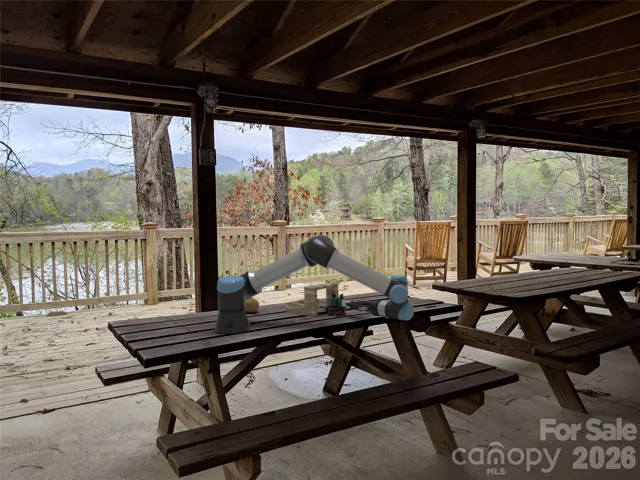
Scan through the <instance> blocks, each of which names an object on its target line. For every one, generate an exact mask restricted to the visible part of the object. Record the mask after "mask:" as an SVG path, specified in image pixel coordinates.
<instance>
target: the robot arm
mask: <svg viewBox="0 0 640 480" xmlns="http://www.w3.org/2000/svg"><path fill="white" fill-rule="evenodd" d="M317 265H319V266H321V267H323V268H324V269H332V270H334V271H337V273H339V274H341V275H343V276H346V277H347V278H350V279H352V280H354V281H355V282H358V283H360V284H361V285H362V286H365V287H366V288H369V289H371V290H372V291H375V292H377V293H378V294H380V295H383V296H385V297H386V298H388V299H390V300H382V299H373V300H372V301H366V300H365V301H362V300H359V301H358V300H357V301H354V300H346V299H345V300H342V306H345V307H346V308H349V309H350V310H353V311H354V310H355V311H359V312H363V311H365V312H366V313H367V312H368V313H369V312H370V313H371V314H372V315H373V316H374V317H383V318H385V319H395V320H399V321H401V320H402V321H410V320H411V319H412V318H413V317H414V314H415V309H414V306H413V304H412V303H409V298H408V297H409V289H408V288H409V287H408V283H409V281H408V277H407V275H403V274H399V275H398V274H395V275H392V276H390V277H389V276H387V275H384V274H382V273H380V272H379V271H377V270H375V269H372V268H370V267H368V266H367V265H364V264H363V263H361V262H359V261H357V260H355V259H353V258H351V257H349V256H347V255H345V254H343V253H342V252H339V249H338V248H337V247H335V243H334V241H333V240H332V238H330V237H329V236H327V235H323V234H320V235H319V234H318V235H316V236H311V238H309V239H307V240H306V241H305V242H303V243H301V244H300V245H299V248H298V249H296V250H294V251H292V252H290V253H288V254H287V255H284V256H282V257H280V258H279V259H276V260H274V261H273V262H271V263H268V264H267V265H265V266H262V267H261V268H259V269H256V270H255V271H254V270H247V271H246V272H244V273H242V274H240V275H235V274H234V275H227V276H222V277H220V278H219V279H218V280H217V284H216V285H217V286H216V290H217V309H218V311H217V313H218V314H217V318H216V322H215V325H214V332H216V333H218V334H225V335H226V334H228V335H229V334H232V335H233V334H239V333H240V334H241V333H245V332H247V331H249V330H251V329H250V321H249V318H248V316H247V312H245V300H247V299H250V298H251V297H252V298H254V297H256V296H257V295H258V294H261V293H262V291H263V289H264V288H265V287H267V286H270V285H271V284H273V283H275V282H278V281H280V280H281V279H283V278H286V277H288V276H290V275H291V274H293V273H296V272H297V271H300V270H301V269H303V268H305V267H310V268H313V267H315V266H317Z"/></svg>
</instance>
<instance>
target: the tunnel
mask: <svg viewBox="0 0 640 480" xmlns="http://www.w3.org/2000/svg"><path fill="white" fill-rule="evenodd" d="M319 290H325V299H326V300H325V301H326V303H325V306H326V307H328V306H329V305H331V304H330V298H332V293H335V294H336V296H335V297H338V298H340V296H339V295H340V294H339V293H340V292H339V283H334V282H326V283H320V284H313V285H308V286H307V285H306V286H304V287H303V296H304V297H303V299H297V300H292V301H291V300H290V301H286V302H285V311H286V313H291V314H296V313H297V315H302V314H303V315H302V316H308V317H313V318H315V317H318V309H320V308H321V306H320V298H318V291H319ZM330 310H332V309H330Z"/></svg>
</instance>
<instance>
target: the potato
mask: <svg viewBox="0 0 640 480" xmlns="http://www.w3.org/2000/svg"><path fill="white" fill-rule="evenodd" d="M259 308H260V301H259V300H257V299H256V298H254V297H251V298H250V299H247V300H245V313H255V312H257V311H258V310H259Z"/></svg>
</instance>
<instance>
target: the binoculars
mask: <svg viewBox="0 0 640 480" xmlns="http://www.w3.org/2000/svg"><path fill="white" fill-rule="evenodd" d="M335 296H336V294H335V293H332V298H330V304H331V305H329V306H328V307H326V308H324V309H325V311H326V312H327V316H328V317H329V316H330V317H332V316H335V317H340V316H342V315H347V313H346V310H347V307H345V306H342V300H346V299H345V298H344V293H341V294H339V298H338V297H335ZM330 309H332V310H330Z"/></svg>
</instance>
